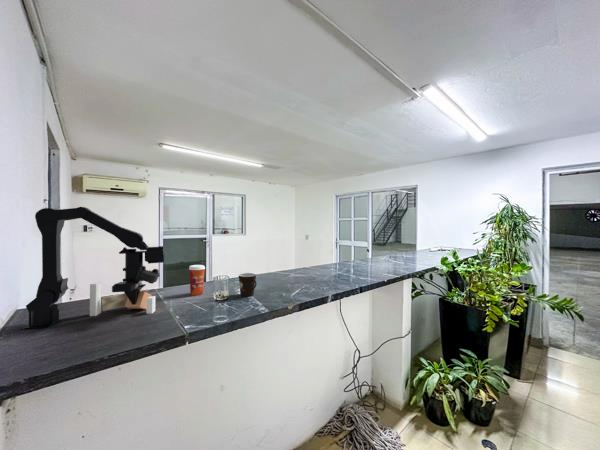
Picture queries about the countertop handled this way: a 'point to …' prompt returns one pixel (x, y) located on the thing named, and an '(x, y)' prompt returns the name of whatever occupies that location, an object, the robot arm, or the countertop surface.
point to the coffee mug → (247, 284)
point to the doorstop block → (139, 301)
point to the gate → (115, 301)
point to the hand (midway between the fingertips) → (134, 304)
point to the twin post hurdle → (96, 300)
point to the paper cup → (196, 279)
